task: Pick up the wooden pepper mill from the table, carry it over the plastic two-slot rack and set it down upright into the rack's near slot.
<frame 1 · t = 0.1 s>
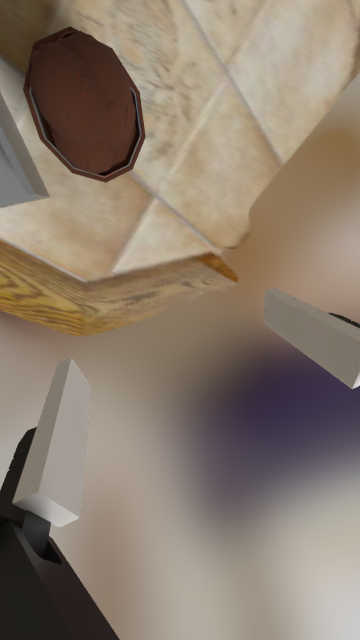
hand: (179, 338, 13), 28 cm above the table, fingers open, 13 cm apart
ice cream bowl: (95, 142, 28), on the table
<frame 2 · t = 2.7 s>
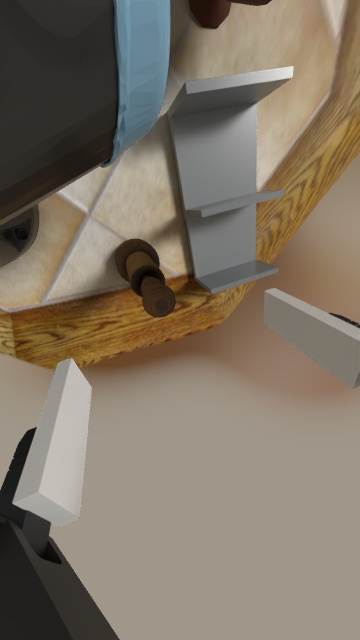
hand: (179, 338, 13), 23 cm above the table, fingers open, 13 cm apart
slot rack: (218, 203, 32), on the table
wooden pepper mill: (136, 260, 32), on the table
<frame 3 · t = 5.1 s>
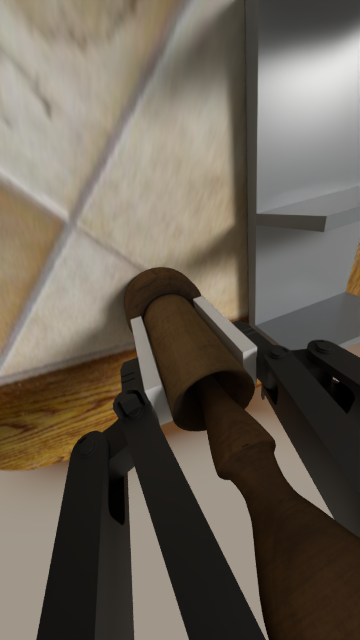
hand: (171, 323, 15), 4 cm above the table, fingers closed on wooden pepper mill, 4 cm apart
slot rack: (306, 202, 18), on the table
wooden pepper mill: (160, 302, 18), on the table, touching gripper
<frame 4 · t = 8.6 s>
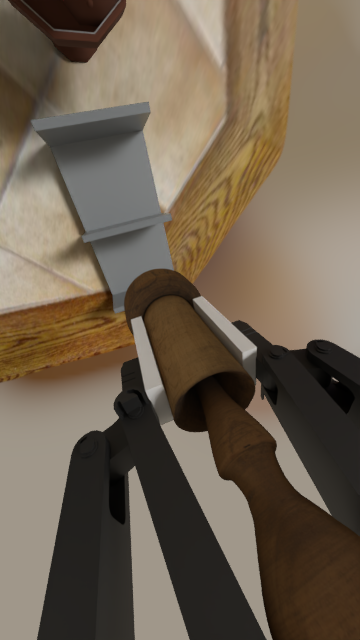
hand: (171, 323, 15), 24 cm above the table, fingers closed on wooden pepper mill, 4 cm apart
slot rack: (124, 224, 32), on the table
wooden pepper mill: (160, 303, 18), point 20 cm above the table, touching gripper
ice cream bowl: (71, 26, 22), on the table
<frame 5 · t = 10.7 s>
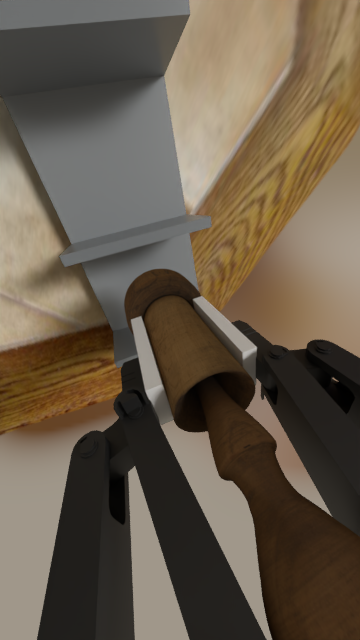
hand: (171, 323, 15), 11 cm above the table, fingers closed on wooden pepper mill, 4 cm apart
slot rack: (131, 231, 21), on the table
wooden pepper mill: (160, 303, 18), point 7 cm above the table, touching gripper
when the fingers open (7 cm above the table, at t = 12.4 s): wooden pepper mill drops 2 cm, resting on slot rack.
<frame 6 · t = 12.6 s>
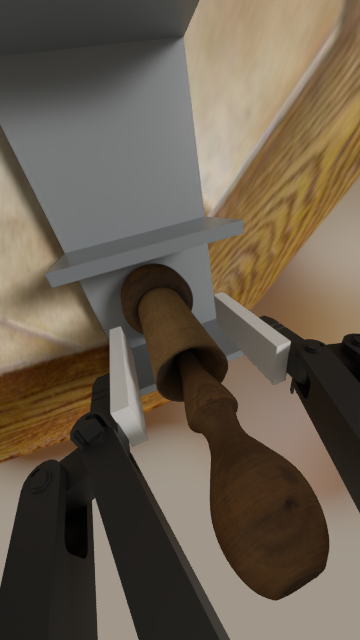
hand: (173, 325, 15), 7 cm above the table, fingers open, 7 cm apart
slot rack: (138, 237, 18), on the table
wooden pepper mill: (154, 296, 20), point 1 cm above the table, touching slot rack
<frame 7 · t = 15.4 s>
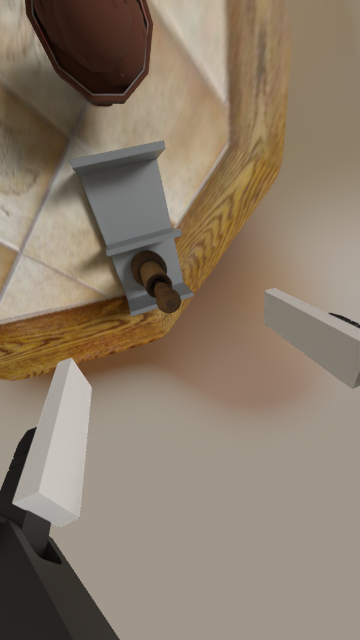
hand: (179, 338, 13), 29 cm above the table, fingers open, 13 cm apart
slot rack: (139, 237, 36), on the table
wooden pepper mill: (148, 267, 38), point 1 cm above the table, touching slot rack
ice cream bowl: (99, 78, 26), on the table
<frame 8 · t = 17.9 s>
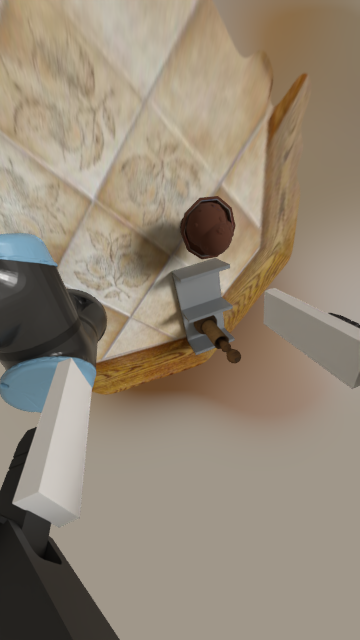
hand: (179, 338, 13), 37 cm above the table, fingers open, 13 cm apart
slot rack: (200, 303, 56), on the table
wooden pepper mill: (203, 320, 58), point 1 cm above the table, touching slot rack
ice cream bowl: (191, 226, 46), on the table
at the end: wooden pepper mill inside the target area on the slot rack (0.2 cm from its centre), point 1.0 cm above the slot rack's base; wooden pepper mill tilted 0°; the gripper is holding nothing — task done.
